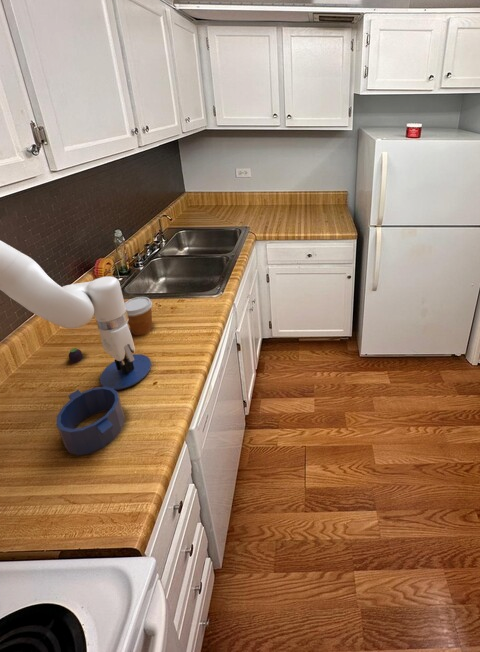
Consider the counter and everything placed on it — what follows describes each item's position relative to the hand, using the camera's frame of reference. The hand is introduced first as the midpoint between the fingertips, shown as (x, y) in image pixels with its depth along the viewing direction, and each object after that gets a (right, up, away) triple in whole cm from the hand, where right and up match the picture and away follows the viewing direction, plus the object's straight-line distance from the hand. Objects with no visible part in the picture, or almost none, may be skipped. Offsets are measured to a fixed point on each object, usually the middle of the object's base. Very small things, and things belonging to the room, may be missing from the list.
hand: (125, 369), depth 100 cm
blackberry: (-19, 0, +6) cm, 20 cm away
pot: (+2, -9, -16) cm, 19 cm away
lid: (0, -1, 0) cm, 1 cm away
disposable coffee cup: (-5, +5, +20) cm, 21 cm away
